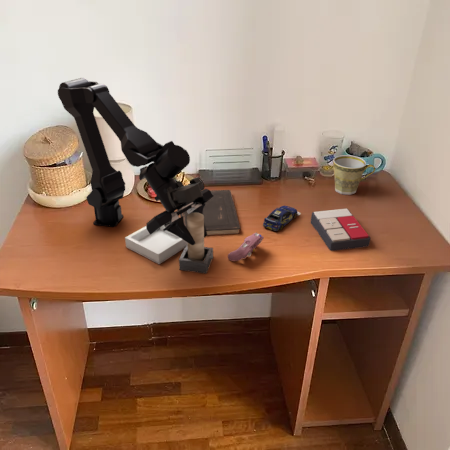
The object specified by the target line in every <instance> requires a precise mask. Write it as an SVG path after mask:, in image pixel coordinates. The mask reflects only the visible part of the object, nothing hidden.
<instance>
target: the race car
mask: <svg viewBox="0 0 450 450" xmlns="http://www.w3.org/2000/svg"><path fill="white" fill-rule="evenodd" d="M301 214H302V213H301V212H299V211H298V210H297V209H296V208H295V207H292V206H288V205H281V206H279V207H276V208H274V209H273V210H272V211H271V212H270V213H269V214H268V215H267V217H265V218H264V219H263V224H262V227H264V228H267V229H269V230H271V231H274V232H275V231H276V232H278V231H281V230H282V229H284V227H285V226H286V225H288V224H289V223H290V222H291V221H292V220H293V219H296V217H299V216H300V215H301Z"/></svg>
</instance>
